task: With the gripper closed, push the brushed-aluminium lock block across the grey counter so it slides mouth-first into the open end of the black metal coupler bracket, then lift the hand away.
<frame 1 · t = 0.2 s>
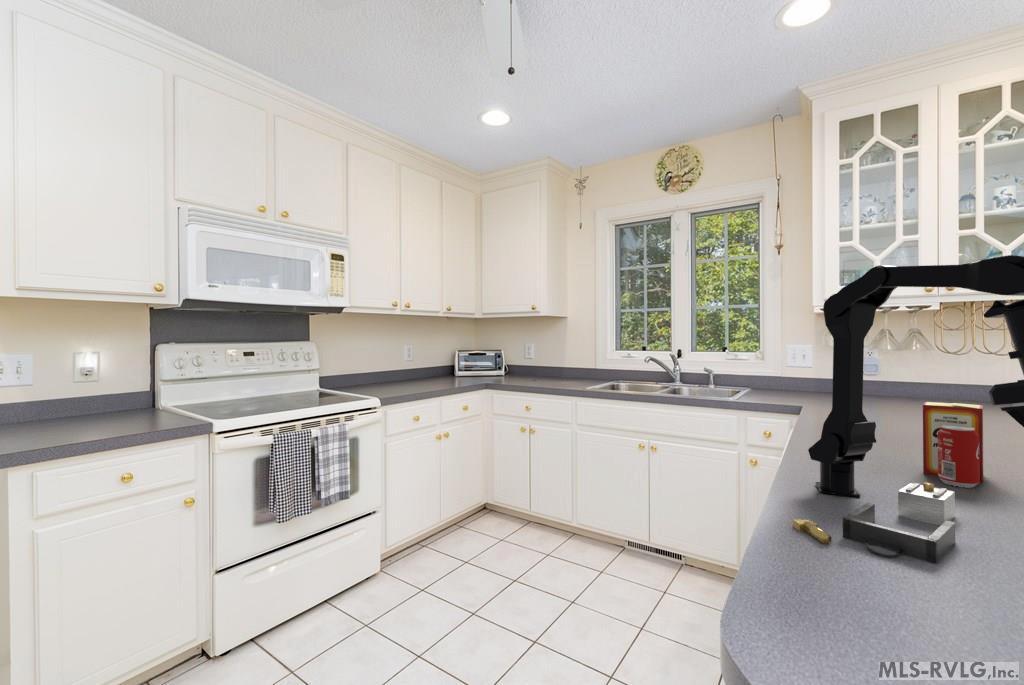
beverage can: (958, 485, 98), on the countertop
baking soda box: (953, 475, 104), on the countertop
coupler bracket: (899, 538, 72), on the countertop
lock block: (926, 517, 81), on the countertop
gold elongated piece: (816, 537, 73), on the countertop
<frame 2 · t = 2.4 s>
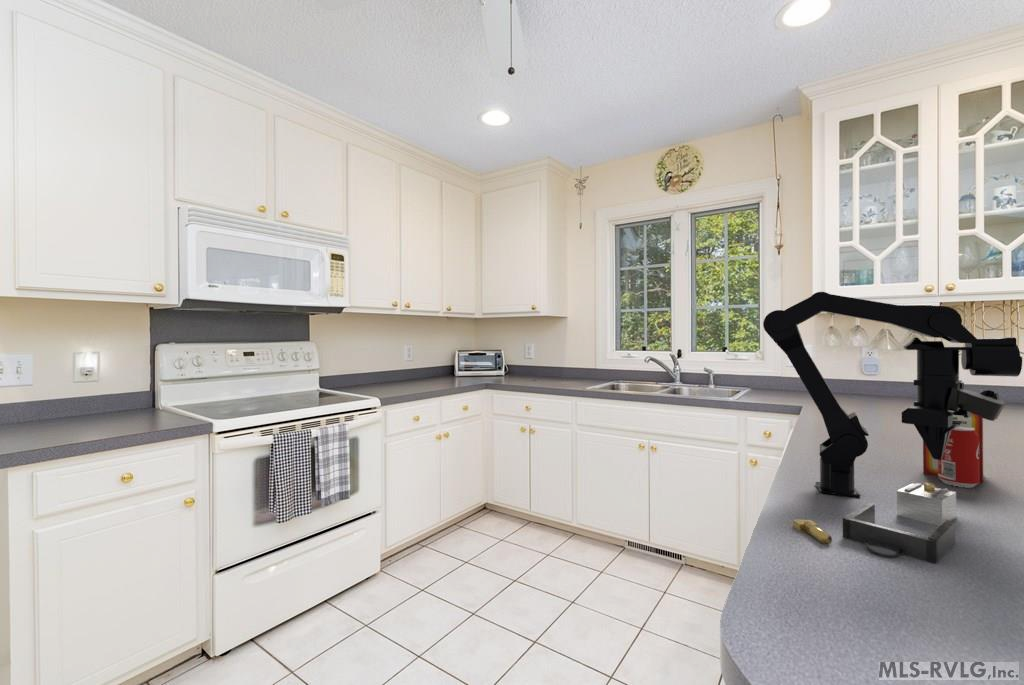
hand: (937, 459, 86), 8 cm above the countertop, tool pointing down, fingers closed
nothing on the countertop moved.
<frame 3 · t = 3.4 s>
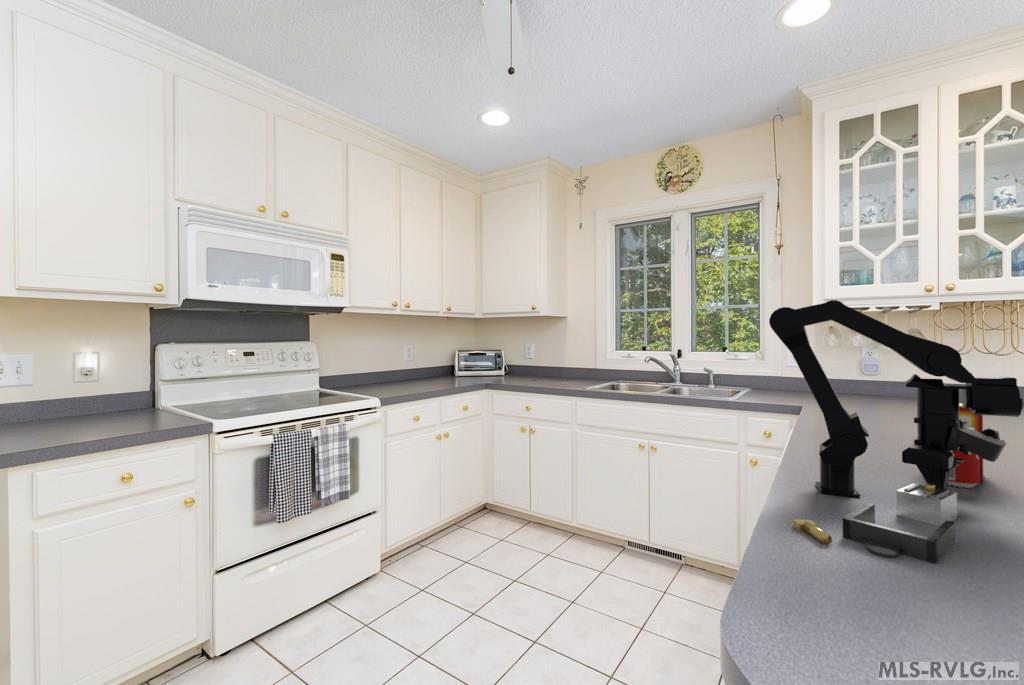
hand: (938, 497, 86), 1 cm above the countertop, tool pointing down, fingers closed
nothing on the countertop moved.
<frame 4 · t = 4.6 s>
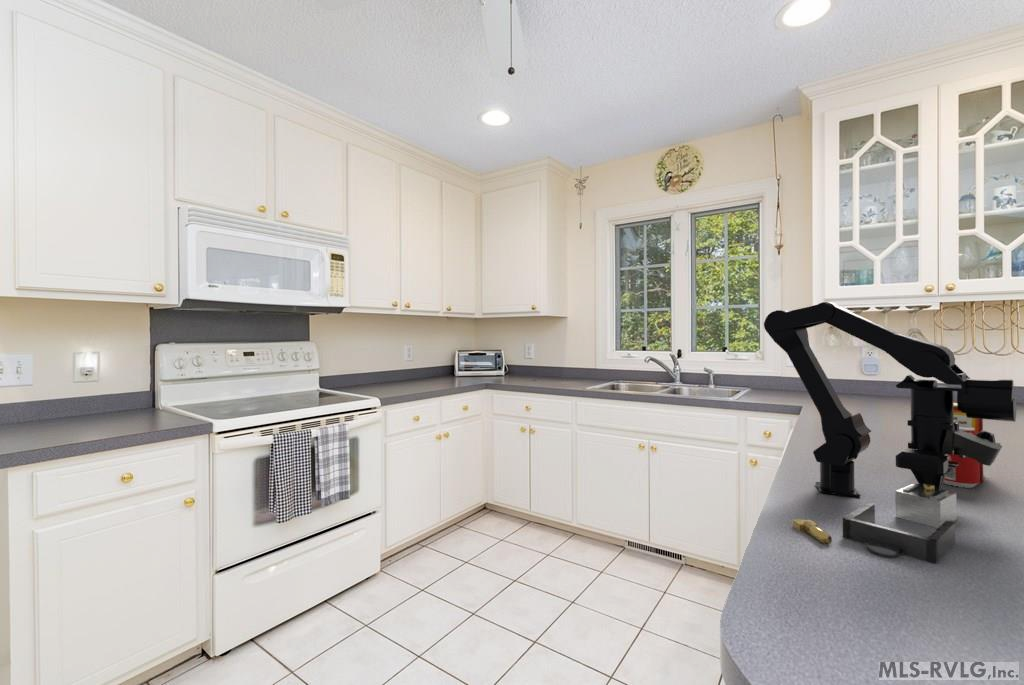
hand: (932, 501, 83), 2 cm above the countertop, tool pointing down, fingers closed
lock block: (925, 518, 80), on the countertop, touching gripper
everything else where it was.
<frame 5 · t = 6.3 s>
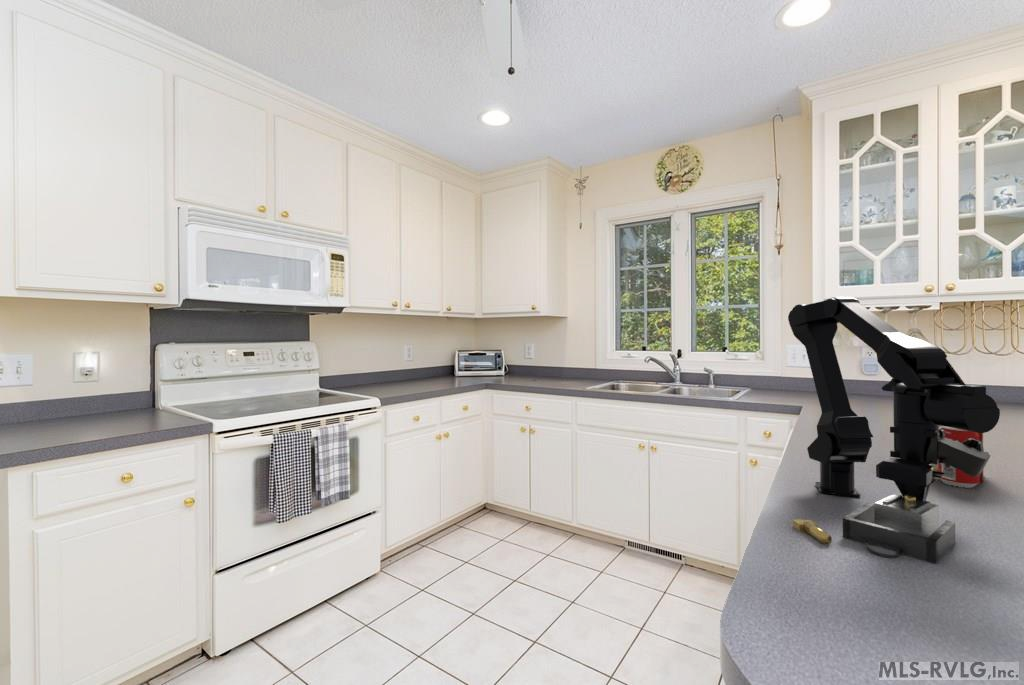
hand: (916, 514, 78), 2 cm above the countertop, tool pointing down, fingers closed
lock block: (906, 532, 75), on the countertop, touching gripper
everything else where it was.
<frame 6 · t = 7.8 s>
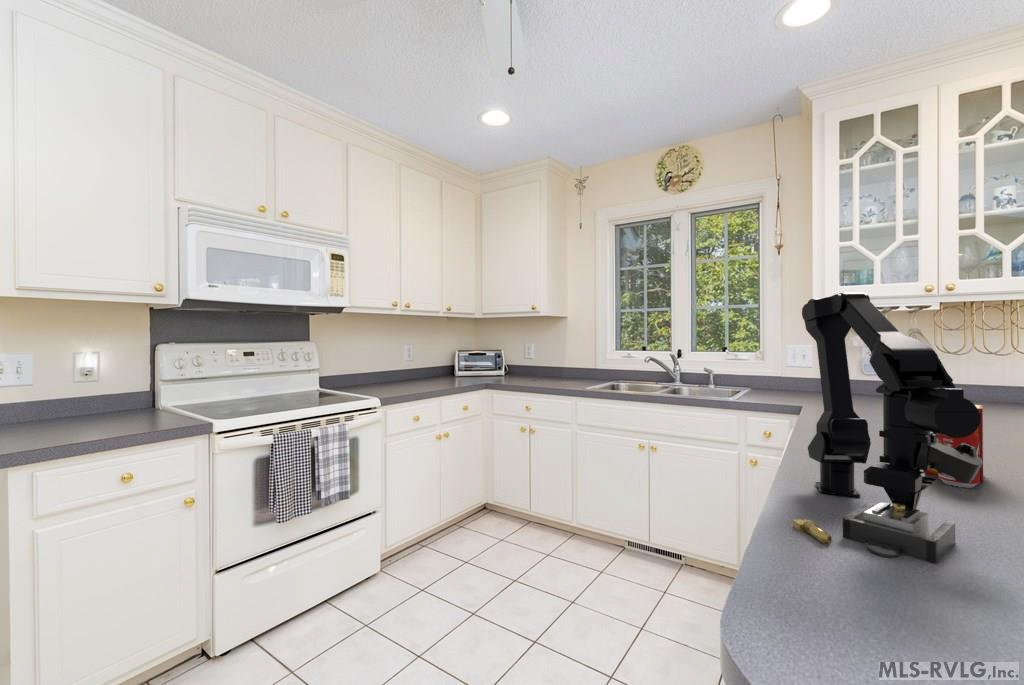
hand: (907, 522, 75), 2 cm above the countertop, tool pointing down, fingers closed
lock block: (896, 542, 72), on the countertop
everything else where it was.
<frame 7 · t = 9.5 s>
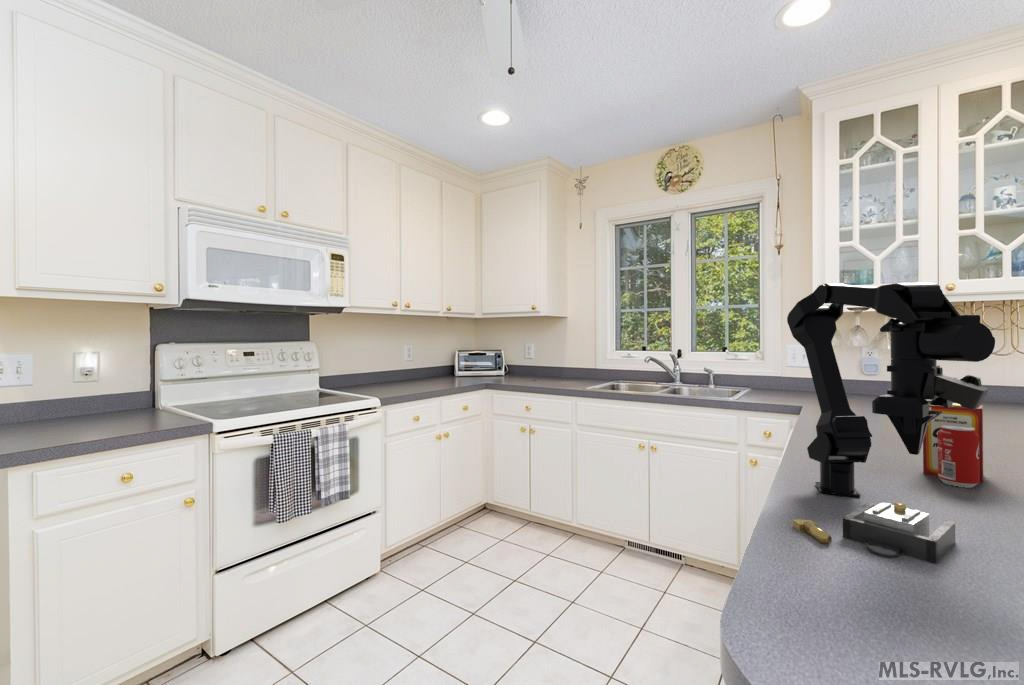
hand: (914, 454, 77), 12 cm above the countertop, tool pointing down, fingers closed
nothing on the countertop moved.
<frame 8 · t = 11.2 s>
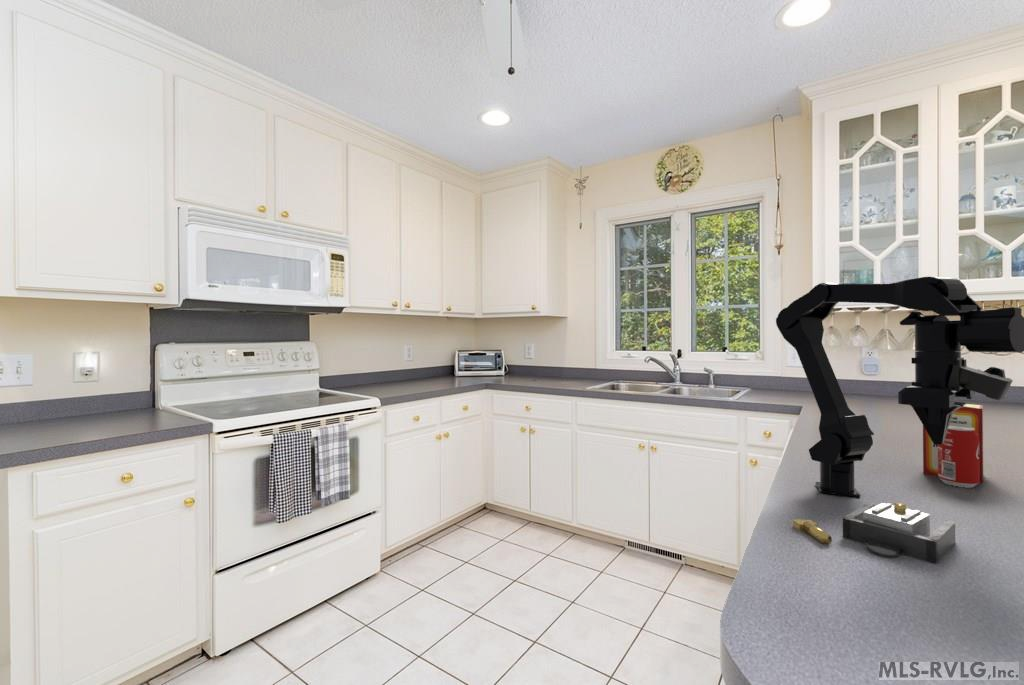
hand: (938, 444, 79), 13 cm above the countertop, tool pointing down, fingers closed
nothing on the countertop moved.
at the end: lock block 1.3 cm from the coupler bracket (horizontally); lock block tilted 0°; lock block on the countertop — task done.
